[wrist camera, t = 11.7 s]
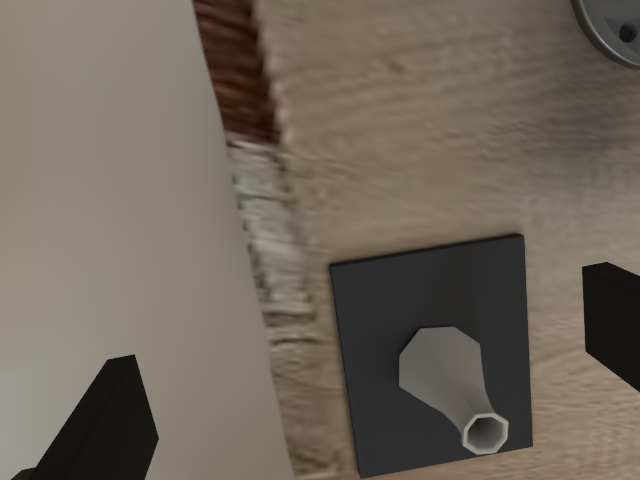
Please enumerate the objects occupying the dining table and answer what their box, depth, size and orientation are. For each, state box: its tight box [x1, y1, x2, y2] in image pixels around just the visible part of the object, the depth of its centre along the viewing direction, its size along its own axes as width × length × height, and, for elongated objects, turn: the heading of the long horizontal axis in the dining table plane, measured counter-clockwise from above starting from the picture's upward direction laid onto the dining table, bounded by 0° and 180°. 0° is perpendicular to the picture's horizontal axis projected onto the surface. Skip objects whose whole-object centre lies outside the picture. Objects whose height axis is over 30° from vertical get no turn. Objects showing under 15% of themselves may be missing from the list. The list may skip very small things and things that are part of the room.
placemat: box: [329, 234, 533, 479], centre depth 44 cm, size 16×20×1 cm
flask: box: [399, 327, 508, 455], centre depth 39 cm, size 7×7×10 cm
